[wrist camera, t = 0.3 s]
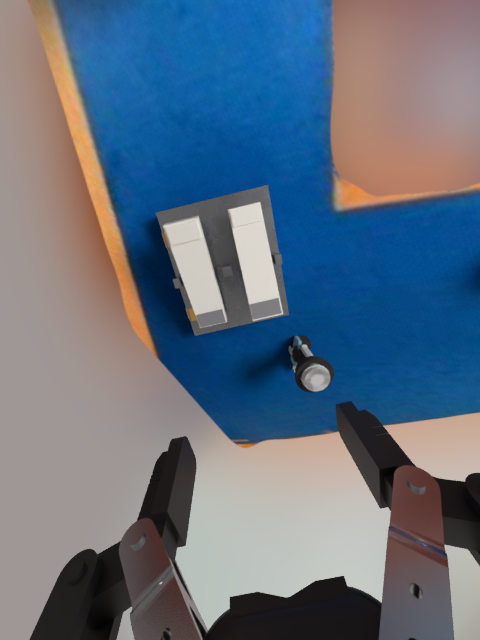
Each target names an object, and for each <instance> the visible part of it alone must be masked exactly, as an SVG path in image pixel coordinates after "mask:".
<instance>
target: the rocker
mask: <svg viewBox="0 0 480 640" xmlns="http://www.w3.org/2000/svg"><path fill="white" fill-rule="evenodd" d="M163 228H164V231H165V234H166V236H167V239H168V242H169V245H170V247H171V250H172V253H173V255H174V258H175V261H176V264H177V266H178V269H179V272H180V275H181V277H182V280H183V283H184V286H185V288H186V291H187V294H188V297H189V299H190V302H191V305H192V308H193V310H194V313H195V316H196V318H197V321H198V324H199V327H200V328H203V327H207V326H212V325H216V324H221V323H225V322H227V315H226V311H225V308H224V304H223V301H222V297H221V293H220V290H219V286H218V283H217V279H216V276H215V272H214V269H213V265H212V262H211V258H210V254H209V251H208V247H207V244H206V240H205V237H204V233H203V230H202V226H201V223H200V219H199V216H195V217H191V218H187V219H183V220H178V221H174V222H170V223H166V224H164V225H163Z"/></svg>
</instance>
